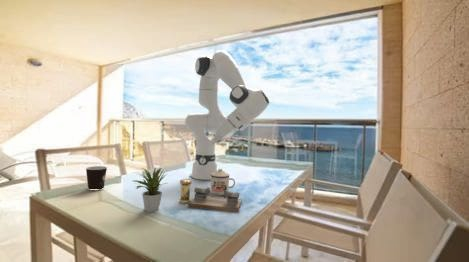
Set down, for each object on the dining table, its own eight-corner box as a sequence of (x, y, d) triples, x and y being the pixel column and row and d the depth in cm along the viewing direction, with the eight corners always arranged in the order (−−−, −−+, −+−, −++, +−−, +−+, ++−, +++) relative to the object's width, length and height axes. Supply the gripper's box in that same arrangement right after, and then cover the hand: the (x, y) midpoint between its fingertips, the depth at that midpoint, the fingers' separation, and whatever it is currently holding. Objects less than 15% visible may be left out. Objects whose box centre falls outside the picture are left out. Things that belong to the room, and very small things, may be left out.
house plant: (141, 201, 104) (142, 162, 104) (174, 203, 104) (175, 163, 103) (125, 213, 90) (126, 168, 89) (163, 215, 90) (165, 170, 89)
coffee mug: (95, 192, 113) (95, 170, 113) (80, 189, 116) (81, 168, 116) (115, 186, 124) (115, 166, 124) (101, 184, 127) (102, 164, 127)
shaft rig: (197, 198, 112) (197, 183, 112) (241, 202, 109) (242, 187, 109) (188, 207, 100) (188, 190, 100) (237, 212, 97) (238, 195, 97)
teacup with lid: (209, 195, 118) (210, 170, 117) (210, 189, 127) (211, 166, 126) (235, 196, 118) (236, 171, 118) (234, 190, 127) (235, 167, 127)
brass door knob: (181, 199, 109) (182, 178, 109) (192, 200, 108) (193, 179, 108) (177, 202, 104) (178, 181, 104) (188, 203, 104) (189, 182, 103)
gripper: (236, 117, 118) (215, 136, 120) (228, 113, 98) (203, 137, 100) (245, 127, 118) (223, 146, 119) (239, 125, 97) (213, 149, 99)
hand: (214, 142), depth 109 cm, fingers open, 8 cm apart
